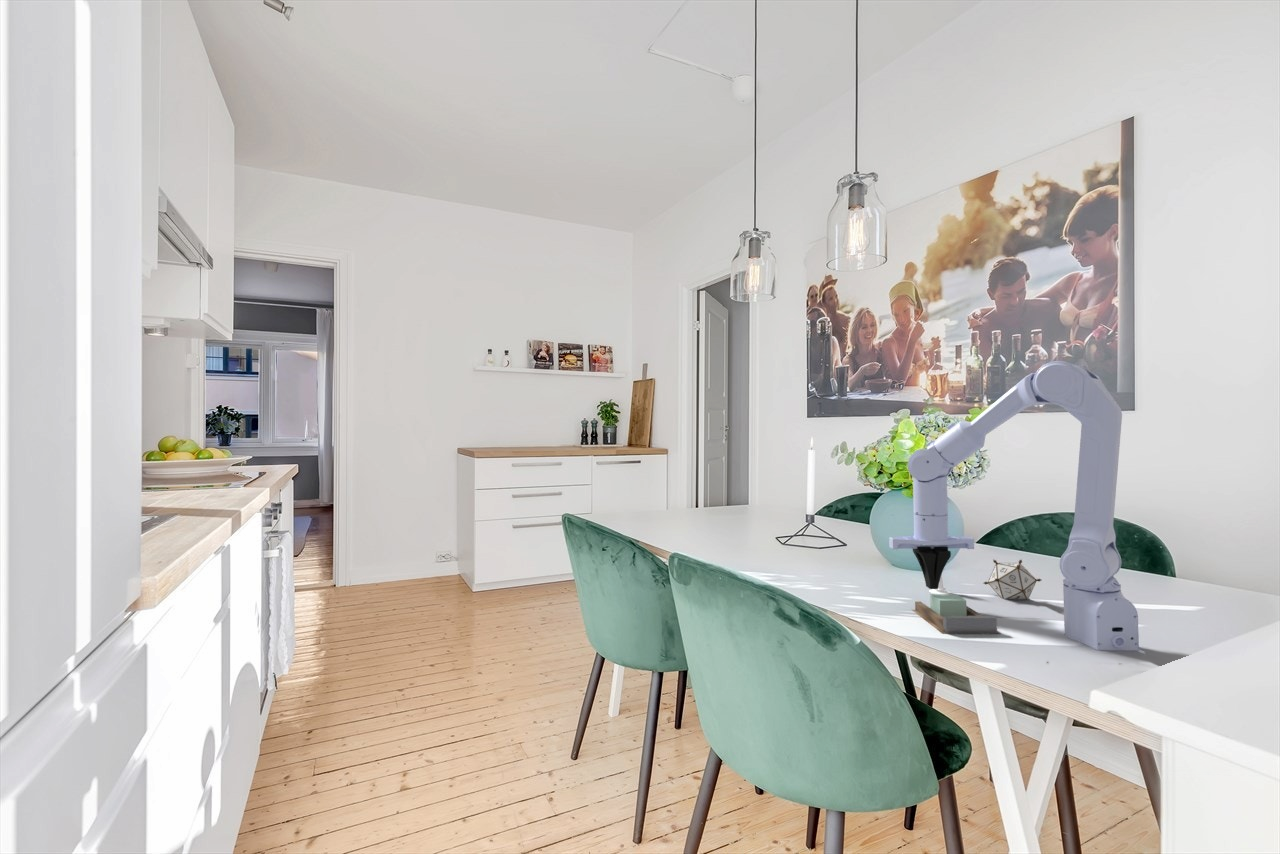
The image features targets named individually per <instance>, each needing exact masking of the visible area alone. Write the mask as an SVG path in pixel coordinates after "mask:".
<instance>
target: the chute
mask: <svg viewBox="0 0 1280 854" xmlns="http://www.w3.org/2000/svg"><path fill="white" fill-rule="evenodd" d="M914 606H915V607H914V608H915V609H911V611H912V612H913V613H915V614H916V615H917V616H919V617H921V618H922V620H924V621H925V622H926V623H928V624H929V625H930V626H932V627H933V628H934V629H936V631H938V632H939V633H940V634H943V635H1001V633H1000V632H999V631H998V630H997V629H998V624H997V623H998V620H997V617H995V616H994V615H982V614H981V613H979V612H978V611H976V610H974V609H972V608H971V607H970V606H968V605H966V608H967V616H943V617H942V616H940V615H939V614H938V613H936V612H935V611H933V610H932V609H931V608H930V607H929V606H928V605H926V603H923V602H922V601H915V602H914Z"/></svg>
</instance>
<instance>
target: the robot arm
mask: <svg viewBox="0 0 1280 854" xmlns="http://www.w3.org/2000/svg"><path fill="white" fill-rule="evenodd" d="M1051 403H1052V404H1054V405H1057V406H1059V407H1061V408H1064V409H1065V410H1066V412H1068V413H1069V414H1071V416H1073V417H1074V418H1075V419H1077V420H1078V421H1079V422H1080V424H1081V426H1080V427H1081V428H1080V429H1081V430H1080V439H1079V440H1080V442H1079V454H1078V455H1079V456H1078V467H1077V476H1076V477H1077V478H1076V490H1075V491H1076V494H1075V505H1074V514H1073V516H1074V517H1073V518H1074V520H1073V524H1072V528H1071V531H1070V533H1069V537H1068V543H1067V544H1068V545H1067V547H1066V549H1065V551H1063V553H1062V555H1061V557H1060V559H1059V564H1058V565H1059V570H1060V573H1061V574H1062V576H1063V577H1064V579H1062V581H1063V582H1062V583H1063V584H1062V586H1063V590H1062V591H1063V593H1062V594H1063V619H1064V620H1063V623H1064V624H1063V625H1064V626H1063V627H1064V628H1063V631H1064V635H1065V636H1066V637H1067V638H1069V639H1071V640H1073V641H1076V642H1080V643H1082V644H1084V645H1086V646H1088V647H1090V648H1092V649H1094V650H1096V651H1137V652H1139V653H1140V654H1143V655H1146V652H1145V651H1144V650H1142V649H1140V645H1139V644H1140V642H1139V641H1140V640H1139V637H1140V635H1139V613H1138V611H1137V608H1136V607H1135V605H1134V604H1133V603H1132V601H1130V600H1128V599H1127V598H1126V597H1125V596H1124V594H1123V592H1122V585H1121V584H1120V582H1119V581H1118V579H1117V578H1116V577H1114V576H1115V575H1116V574H1117V573H1118V572H1119V571H1120V569H1121V567H1122V558H1121V554H1120V553H1119V550H1118V549H1117V546H1116V541H1117V540H1116V538H1117V536H1116V531H1115V528H1114V520H1115V518H1114V517H1115V505H1116V497H1117V484H1118V483H1117V482H1118V468H1119V456H1120V447H1121V446H1120V445H1121V433H1122V422H1123V421H1122V419H1123V412H1122V411H1123V410H1122V409H1121V407H1120V405H1118V403H1117V401H1116V400H1115V399H1114V397H1113V396H1112V395H1111V393H1110V392H1109V390H1108V389H1107V387H1106V386H1105V384H1104V383H1103V382H1102V380H1101V378H1100V377H1099V375H1097V374H1095V373H1094V372H1092V371H1090V370H1089V369H1088V368H1086V367H1084V366H1082V365H1079V364H1071V362H1070V363H1069V362H1067V361H1064V360H1063V361H1062V360H1055V361H1049V362H1047V363H1045V364H1043V365H1042V366H1040V367H1039V368H1037V370H1036V372H1031V373H1030V374H1028V375H1026V376H1025V377H1023V378H1022V379H1021V380H1020V381H1019V382H1017V384H1015V385H1013V387H1011V388H1010V389H1009V390H1008V391H1006V392H1005V393H1004V394H1003V395H1001V397H999V398H997V399H996V401H995V402H994V403H992V404H991V405H990V406H988V407H987V408H986V409H985V410H983V411H982V412H981V413H980V414H979V415H978V416H976V417H975V418H974V419H973V420H971V421H965V420H960V421H958V422H957V423H956V422H951V423H949V425H947V426H946V429H947V430H946V431H945V432H944V433H942V434H941V435H940V436H939V437H937V438H936V439H935V440H929V441H928V442H927V443H926V444H925V445H926V446H927V447H926V448H919V449H916V450H914V451H913V453H912V454H910V456H909V458H908V460H907V470H908V473H909V474H910V476H912V482H913V483H912V486H913V488H912V489H913V490H912V492H913V495H912V496H913V498H912V499H913V506H912V507H913V535H907V536H890V537H888V542H889V543H888V547H889V548H890V549H892V550H899V549H900V550H901V549H911V550H912V552H913V554H914V556H915V558H916V560H917V561H918V565H919V566H920V568H921V572H922V575H923V577H924V582H925V587H926V588H928V589H929V590H932V589H938V586H939V581H940V578H941V574H942V575H943V572H944V570H943V569H945V567H946V565H947V563H948V561H949V560H950V558H951V557H952V556H951V555H952V553H951V551H950V550H949V549H967V550H974V549H975V539H974V538H973V537H971V536H951V535H949V520H948V519H949V515H948V512H949V511H948V508H949V507H948V506H949V505H948V503H949V502H948V481H947V480H948V479H947V478H948V476H949V475H950V474H951V472H952V470H953V468H955V467H957V466H958V465H960V464H961V463H962V462H964V461H965V460H967V459H968V458H970V457H971V456H972V455H973V454H975V453H976V452H977V451H979V450H981V449H982V448H983V447H984V446H985V443H986V442H985V441H986V440H985V439H986V436H987V435H988V434H990V433H991V432H993V431H994V430H995V429H997V428H998V427H1000V426H1002V425H1003V424H1004V423H1006V422H1007V421H1009V420H1011V419H1012V418H1013V417H1014V416H1016V415H1018V414H1019V413H1020V412H1022V411H1023V410H1025V409H1027V408H1029V407H1035V406H1042V405H1048V404H1051Z"/></svg>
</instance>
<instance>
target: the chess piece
mask: <svg viewBox="0 0 1280 854" xmlns="http://www.w3.org/2000/svg"><path fill="white" fill-rule="evenodd" d="M943 571H945V568H944V569H943ZM943 579H944V578H943V573H942V574H941V578H940V581H939V586H938V589H929V590H928V591H929V592H930V594H951V592H950V591H949V590H946V588H945V585H944V580H943Z"/></svg>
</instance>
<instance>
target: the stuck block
mask: <svg viewBox="0 0 1280 854" xmlns="http://www.w3.org/2000/svg"><path fill="white" fill-rule="evenodd" d="M929 596H930V597H929V601H930V605H929V606H930V607H929V608H931V609H932V610H933V611H935V612H936V613H938V614H939V615H940V616H942V617H943V616H967V608H966V606H967V600H966V599H965V598H963V597H961V596H960V595H959V594H956V593H949V594H935V593H930V594H929Z"/></svg>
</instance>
